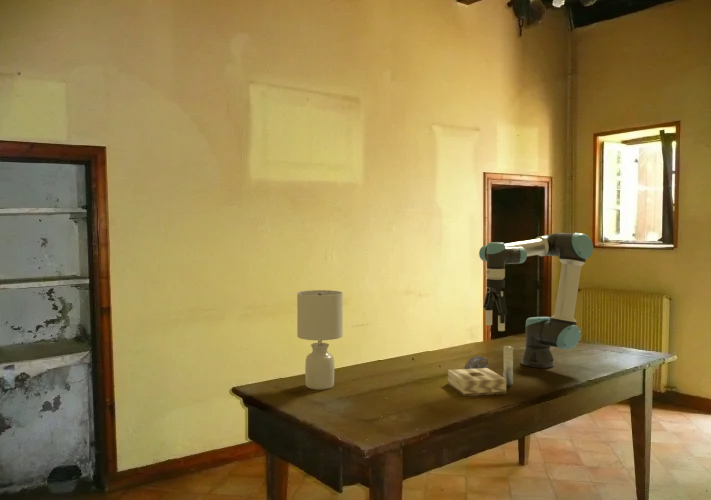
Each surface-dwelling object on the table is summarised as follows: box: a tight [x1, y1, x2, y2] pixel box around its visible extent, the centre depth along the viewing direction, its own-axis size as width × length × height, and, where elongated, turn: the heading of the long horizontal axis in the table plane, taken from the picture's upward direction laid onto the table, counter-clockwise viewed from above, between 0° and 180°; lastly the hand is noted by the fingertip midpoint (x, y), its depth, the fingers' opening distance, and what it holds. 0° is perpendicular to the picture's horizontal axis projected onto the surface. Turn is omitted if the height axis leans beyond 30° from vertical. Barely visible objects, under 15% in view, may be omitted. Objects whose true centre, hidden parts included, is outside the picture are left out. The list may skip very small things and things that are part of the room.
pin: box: [502, 345, 514, 386], centre depth 244 cm, size 4×4×16 cm
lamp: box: [296, 289, 344, 391], centre depth 239 cm, size 19×19×39 cm
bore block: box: [447, 368, 507, 397], centre depth 237 cm, size 18×18×6 cm
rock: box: [464, 355, 491, 370], centre depth 260 cm, size 11×10×10 cm
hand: (494, 327), depth 246 cm, fingers open, 13 cm apart
